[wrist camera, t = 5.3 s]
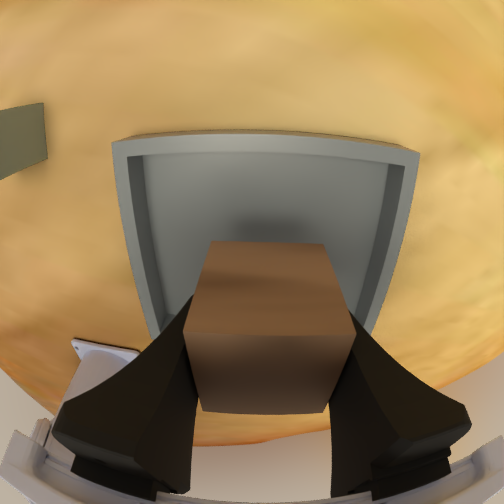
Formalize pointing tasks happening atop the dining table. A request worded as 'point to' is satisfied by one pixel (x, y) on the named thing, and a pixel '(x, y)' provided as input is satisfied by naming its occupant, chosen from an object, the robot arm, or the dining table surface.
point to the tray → (261, 207)
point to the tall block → (21, 138)
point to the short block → (267, 329)
